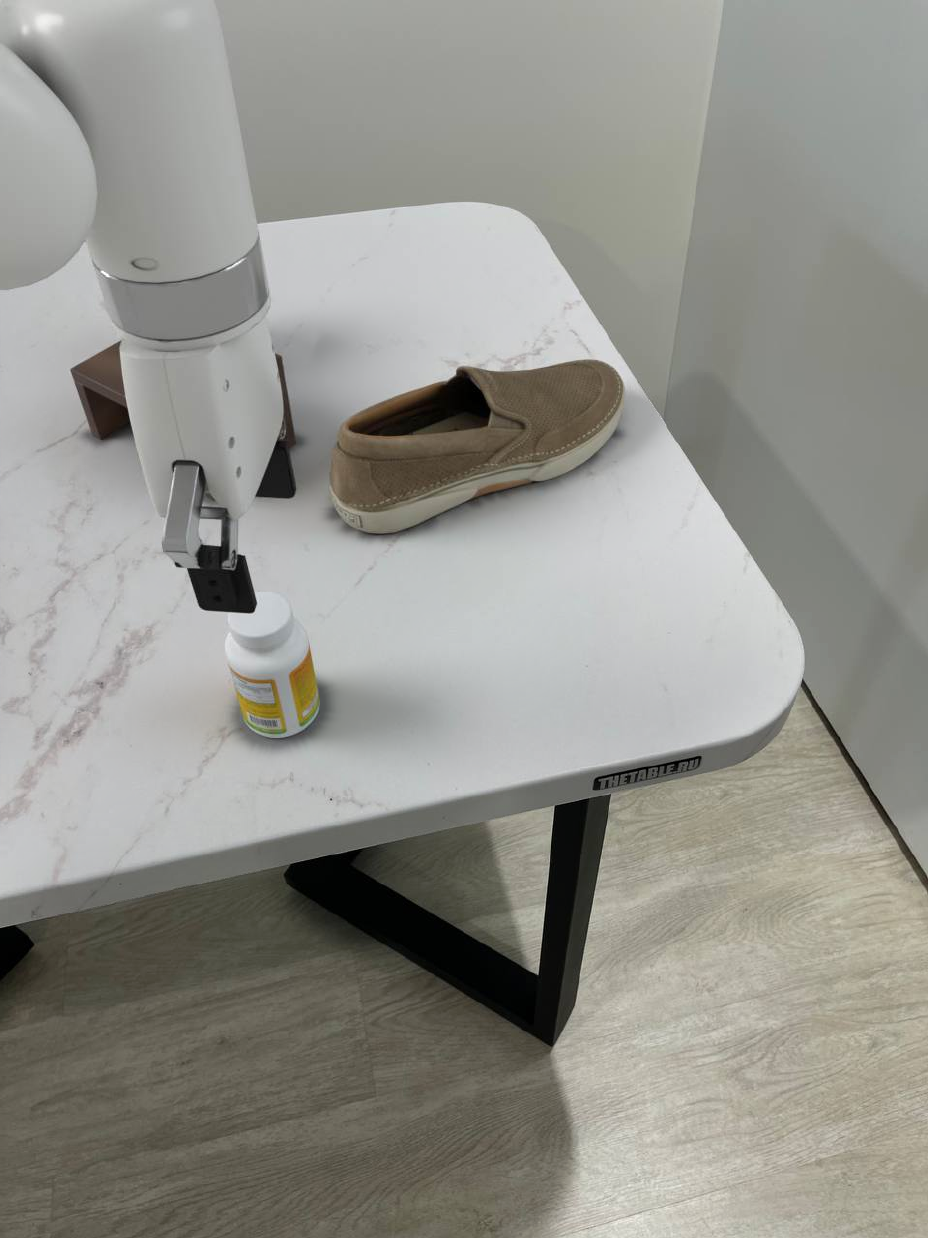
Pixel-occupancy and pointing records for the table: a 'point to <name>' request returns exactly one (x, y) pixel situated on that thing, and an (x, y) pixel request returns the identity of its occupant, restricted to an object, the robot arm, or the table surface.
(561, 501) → the table surface
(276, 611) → the supplement bottle
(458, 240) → the table surface
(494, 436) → the slip on shoe
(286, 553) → the table surface
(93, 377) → the shelf
